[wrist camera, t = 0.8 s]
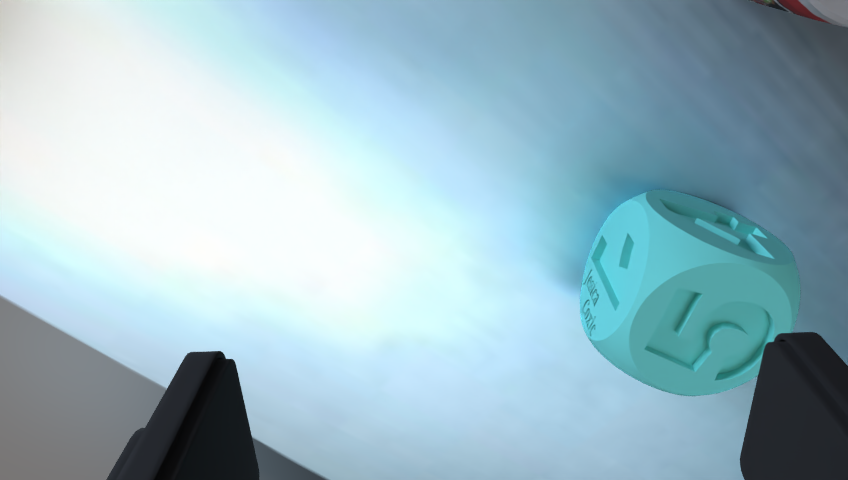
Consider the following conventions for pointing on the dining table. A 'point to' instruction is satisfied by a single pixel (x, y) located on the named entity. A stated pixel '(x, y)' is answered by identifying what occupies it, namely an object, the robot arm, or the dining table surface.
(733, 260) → the decorative dice
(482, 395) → the dining table surface
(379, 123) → the dining table surface
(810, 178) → the dining table surface
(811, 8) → the canned food
